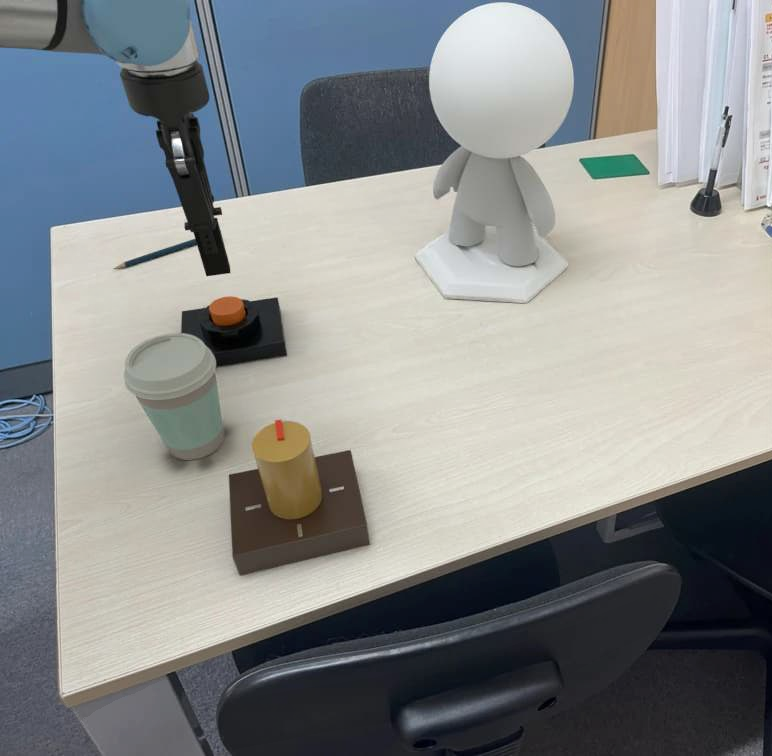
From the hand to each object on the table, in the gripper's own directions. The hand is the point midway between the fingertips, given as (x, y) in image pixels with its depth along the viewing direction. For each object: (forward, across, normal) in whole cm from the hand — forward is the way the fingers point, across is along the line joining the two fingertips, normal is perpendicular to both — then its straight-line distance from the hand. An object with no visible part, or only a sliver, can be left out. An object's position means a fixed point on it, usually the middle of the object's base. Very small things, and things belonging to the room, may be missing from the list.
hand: (218, 271), depth 84 cm
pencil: (+11, -24, -9) cm, 28 cm away
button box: (+10, 0, 0) cm, 10 cm away
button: (+7, 0, 0) cm, 7 cm away
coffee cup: (+10, +17, -5) cm, 21 cm away
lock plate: (+10, +31, +5) cm, 33 cm away
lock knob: (+7, +31, +5) cm, 32 cm away
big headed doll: (+11, -9, +37) cm, 39 cm away
